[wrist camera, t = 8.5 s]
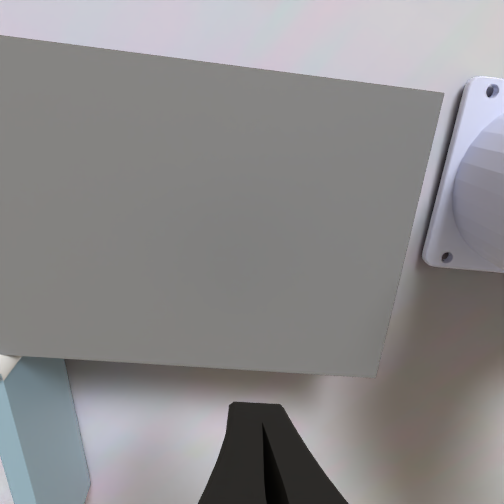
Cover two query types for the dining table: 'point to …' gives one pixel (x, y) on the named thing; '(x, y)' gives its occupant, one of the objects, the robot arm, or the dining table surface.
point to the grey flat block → (202, 210)
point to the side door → (40, 432)
